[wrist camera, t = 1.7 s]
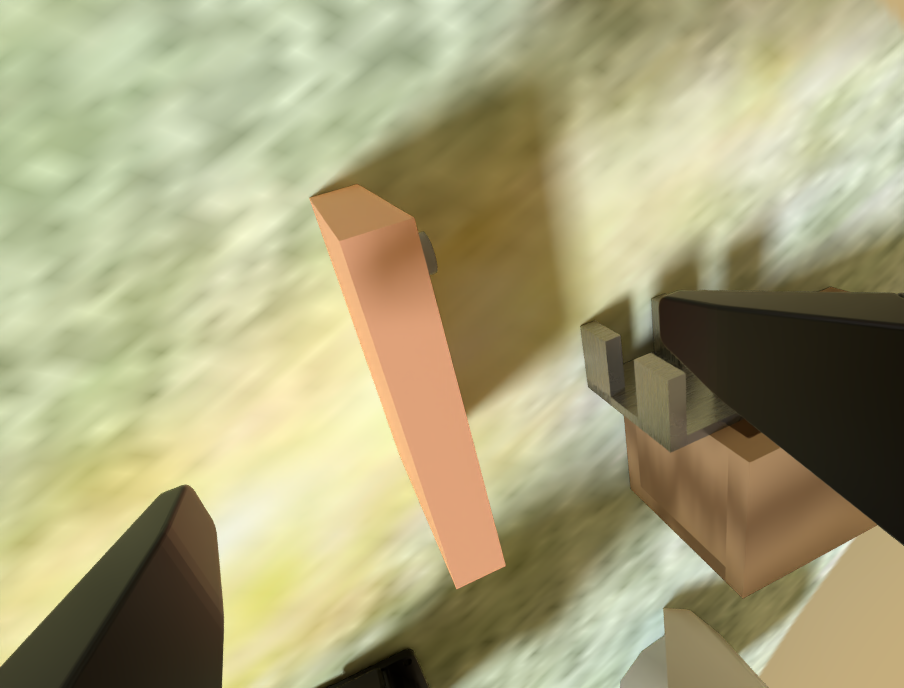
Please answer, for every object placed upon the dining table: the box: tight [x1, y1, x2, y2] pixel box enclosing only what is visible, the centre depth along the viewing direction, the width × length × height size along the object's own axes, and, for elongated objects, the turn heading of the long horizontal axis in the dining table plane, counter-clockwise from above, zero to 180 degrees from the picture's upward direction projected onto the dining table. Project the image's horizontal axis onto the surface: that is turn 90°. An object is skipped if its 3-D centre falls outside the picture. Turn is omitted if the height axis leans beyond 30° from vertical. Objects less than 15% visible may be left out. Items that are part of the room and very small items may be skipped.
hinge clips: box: [580, 294, 744, 453], centre depth 23 cm, size 4×5×6 cm
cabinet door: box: [309, 184, 506, 589], centre depth 18 cm, size 12×2×8 cm, turn 14°
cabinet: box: [624, 287, 877, 598], centre depth 26 cm, size 8×14×8 cm, turn 104°
